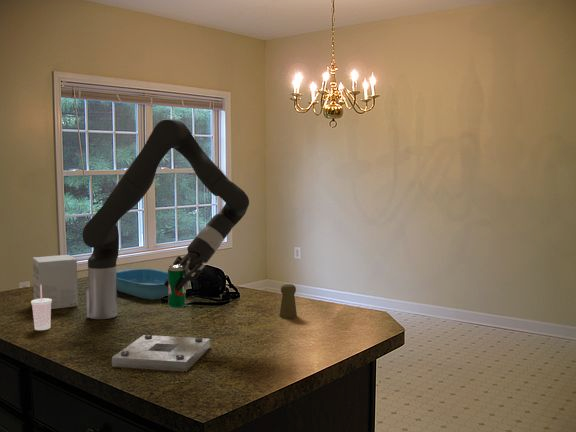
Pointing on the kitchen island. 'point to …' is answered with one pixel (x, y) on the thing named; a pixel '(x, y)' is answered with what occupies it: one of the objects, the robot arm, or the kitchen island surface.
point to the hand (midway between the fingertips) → (171, 287)
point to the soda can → (174, 296)
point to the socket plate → (161, 353)
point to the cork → (288, 301)
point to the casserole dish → (143, 283)
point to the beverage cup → (41, 312)
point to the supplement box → (56, 280)
